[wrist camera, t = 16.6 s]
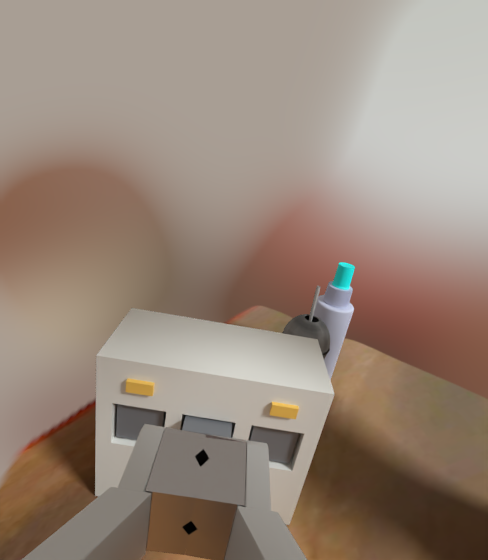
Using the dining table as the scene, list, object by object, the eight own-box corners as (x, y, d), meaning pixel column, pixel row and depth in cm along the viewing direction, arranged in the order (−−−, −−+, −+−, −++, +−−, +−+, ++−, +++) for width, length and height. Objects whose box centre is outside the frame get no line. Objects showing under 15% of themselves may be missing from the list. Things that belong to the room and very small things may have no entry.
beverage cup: (265, 414, 51) (295, 295, 43) (265, 383, 58) (292, 275, 50) (313, 423, 51) (351, 306, 43) (307, 391, 58) (340, 284, 50)
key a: (169, 415, 37) (173, 383, 35) (160, 443, 34) (164, 409, 32) (129, 409, 37) (130, 376, 35) (116, 436, 33) (117, 402, 32)
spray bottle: (297, 364, 64) (327, 255, 56) (329, 374, 63) (365, 264, 55) (293, 384, 59) (327, 266, 50) (328, 394, 58) (368, 276, 49)
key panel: (283, 454, 45) (317, 339, 38) (289, 528, 36) (335, 397, 30) (125, 429, 44) (131, 307, 38) (93, 499, 36) (94, 358, 29)
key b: (286, 434, 37) (295, 403, 36) (289, 463, 34) (299, 431, 32) (247, 428, 37) (254, 396, 36) (246, 456, 34) (254, 423, 32)
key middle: (226, 440, 35) (233, 407, 34) (223, 472, 32) (230, 437, 30) (184, 433, 35) (189, 400, 34) (177, 465, 32) (181, 430, 30)
